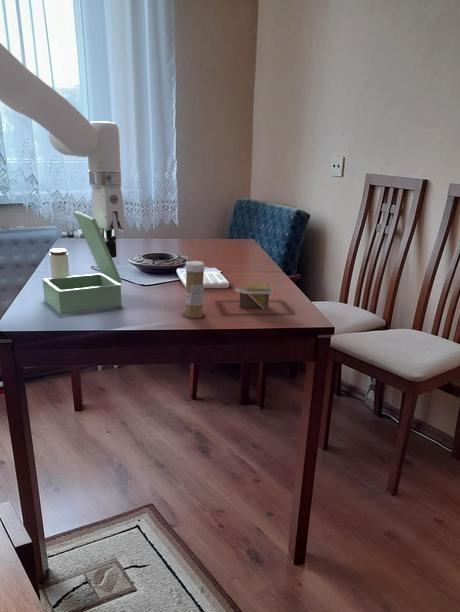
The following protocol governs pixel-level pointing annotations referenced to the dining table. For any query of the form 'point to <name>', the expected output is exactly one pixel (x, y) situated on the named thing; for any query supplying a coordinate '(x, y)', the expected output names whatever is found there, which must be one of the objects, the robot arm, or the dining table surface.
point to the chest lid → (97, 245)
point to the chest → (82, 293)
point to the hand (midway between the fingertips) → (109, 256)
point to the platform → (254, 295)
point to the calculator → (207, 278)
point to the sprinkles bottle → (194, 289)
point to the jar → (59, 263)
